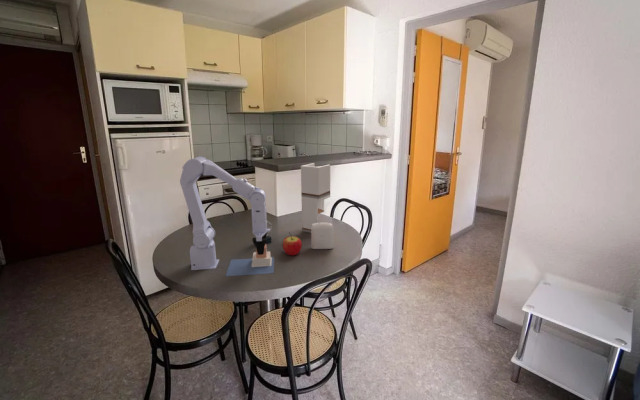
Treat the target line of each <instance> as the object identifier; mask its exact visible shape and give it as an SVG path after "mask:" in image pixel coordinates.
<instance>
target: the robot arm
mask: <svg viewBox="0 0 640 400" xmlns="http://www.w3.org/2000/svg"><path fill="white" fill-rule="evenodd" d="M202 175H203V176H213V177H215V178H216V179H217V178H218V179H219V180H220V181H222V182H223V183H226V184H228V185H229V186H231V188H232V191H233V192H235V193H236V194H238V195H240V196H241V197H243V198H244V199H246V200H248V201H249V204H250V205H251V210H250V211H251V222H252V223H251V224H252V230H251V231H252V234H253V236H255V237H252V239H251V241H252V243H253V245H254V246H255V250H256V249H257V253H258V255H262V254H264V246H265V243H266V241H267V238H266V235H267V233H268V232H270V229H268V222H267V221H268V220H267V207H266V206H267V205H266V198H267V196H266V195H267V194H266V192H265V191H264V189H262V188H261V187H258V186H255V185H253V184H251V183H250V182H248V181H249V180H248V179H246V178H244V179H243V178H242V177H240V178H236V177H235V176H233V175H232V174H230V173H229V172H227V171H226V170H225V169H223V168H222V167H220V166H219V165H218V164H216V163H215V162H214V161H212V160H210V159H207V158H206V157H204V156H202V155H201V156H200V155H198V156H196V157H194V158H190V159H188V160H187V161H185V163H184V164H183V166H182V173H181V175H180V179H179V182H180V183H179V184H180V187H181V189H182V193H183V196H184V200H185V202H186V206H187V209H188V212H189V215H190V218H191V222H192V225H193V226H192V235H193V238H192V244H193V245H191V246H190V249H189V260H190V267H191V269H190V270H191V271H197V270H215V269H216V268H217V266H218V264H219V262H220V259H218V258H217V254H216V243H215V240H214V238H215V236H216V230H215V229H214V228H213V227H212V225H211V222H210V221H209V220H208V219H207V215H206V212H205V209H204V206H203V203H202V200H201V196H200V193H199V190H198V186H197V181H199V179H200V177H201V176H202Z"/></svg>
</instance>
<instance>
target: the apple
mask: <svg viewBox="0 0 640 400" xmlns="http://www.w3.org/2000/svg"><path fill="white" fill-rule="evenodd" d="M288 233H289V235H290V236H287V237H285V238H284V239H283V241H282V248H283V251H284V253H285V254H287V255H288V256H296V255H298V254H299V253H300V252H301V250H302V246H303V245H302V243H303V242H302V240H301V239H300V237H297V236H292V234H291V232H288Z"/></svg>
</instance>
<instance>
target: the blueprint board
mask: <svg viewBox="0 0 640 400" xmlns="http://www.w3.org/2000/svg"><path fill="white" fill-rule="evenodd" d="M226 271H227V272H226V273H225V277H234V276H235V277H236V276H237V277H238V276H250V275H252V276H253V275H266V274H267V275H268V274H275V273H274V272H275V256H271V261H270V265H267V266H253V265H252V258H239V259H237V258H236V259H235V258H234V259H230V262H229V265H228V268H227V270H226Z"/></svg>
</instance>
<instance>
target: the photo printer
mask: <svg viewBox="0 0 640 400" xmlns="http://www.w3.org/2000/svg"><path fill="white" fill-rule="evenodd" d="M318 222H319V221H318ZM310 236H311V239H310V241H311V249H313V250H328V249H329V250H331V249H332V250H333V249H334V248H335V247H334V226H333V223H330V222H324V221H323V222H322V221H321V222H319V223H314V224H312V227H311V233H310Z"/></svg>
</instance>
